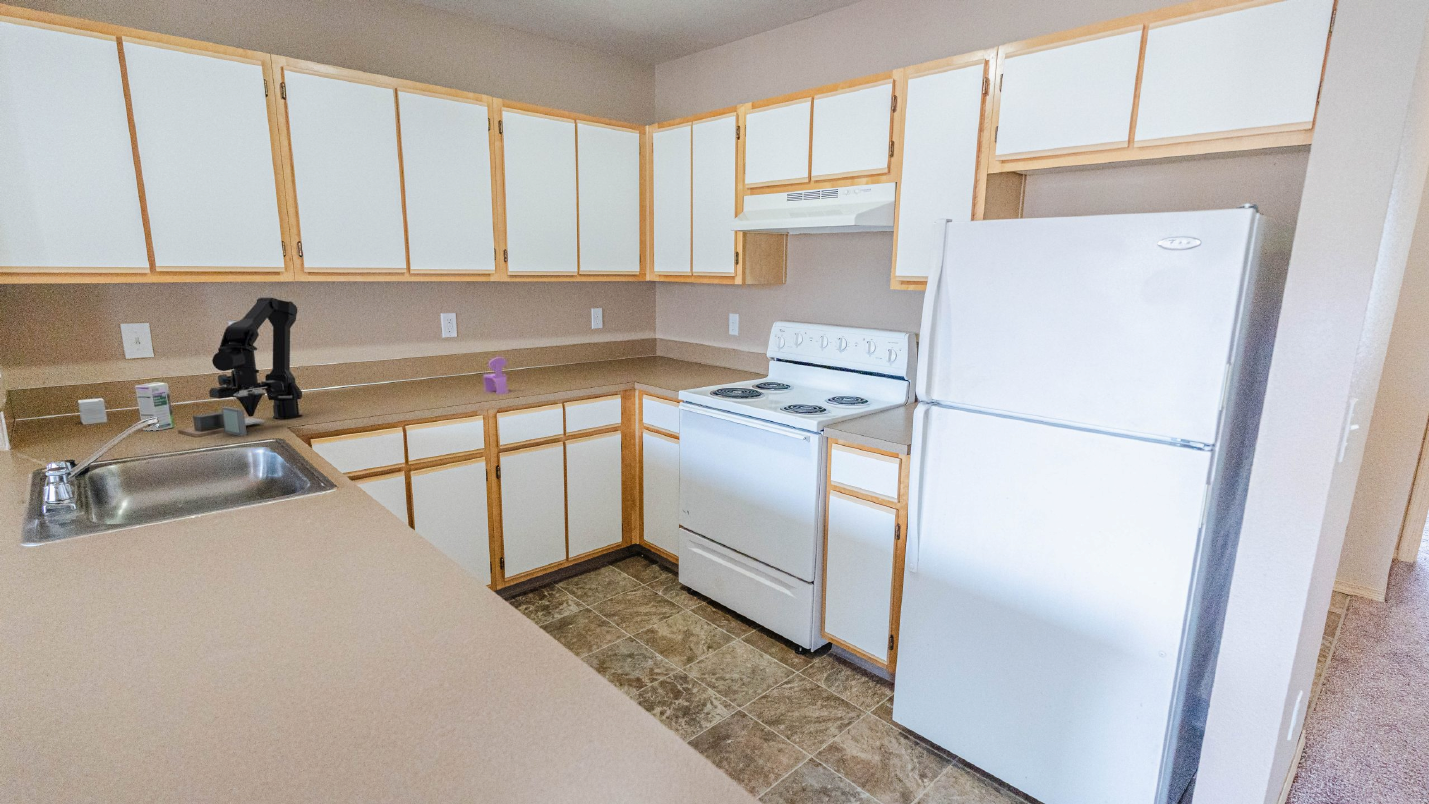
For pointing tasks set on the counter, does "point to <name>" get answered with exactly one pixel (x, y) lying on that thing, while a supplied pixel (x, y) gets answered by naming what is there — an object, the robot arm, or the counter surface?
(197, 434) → the plate
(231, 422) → the tile
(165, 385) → the syrup box
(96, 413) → the skincare box
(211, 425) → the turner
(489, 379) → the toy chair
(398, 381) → the counter surface
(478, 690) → the counter surface
